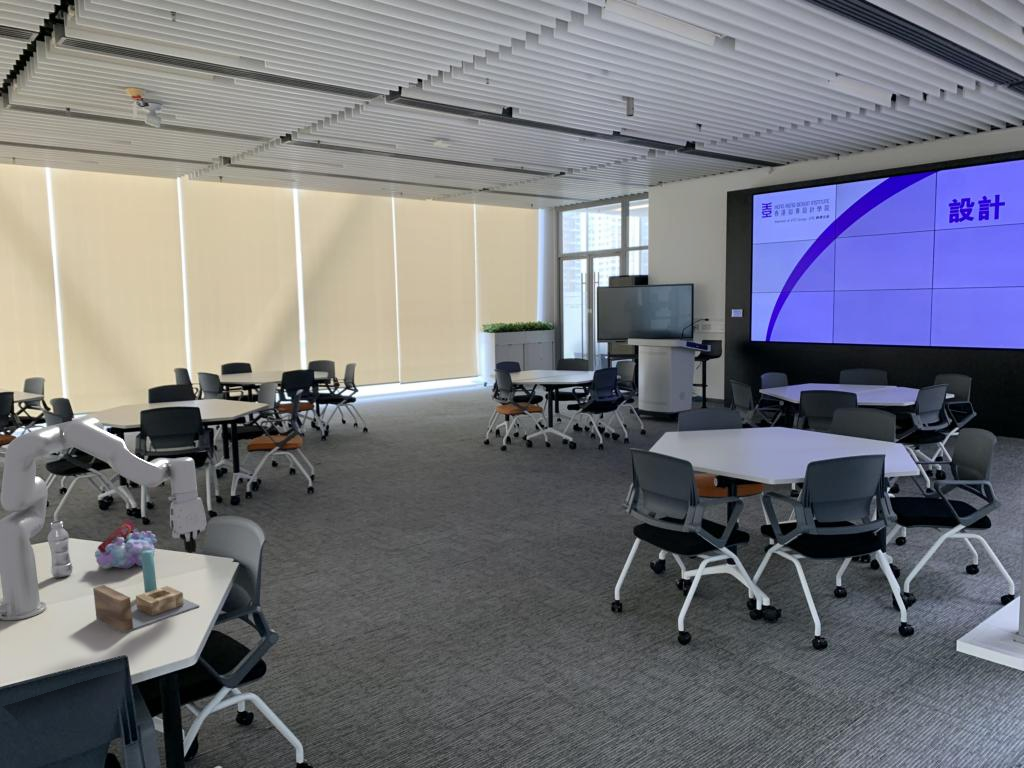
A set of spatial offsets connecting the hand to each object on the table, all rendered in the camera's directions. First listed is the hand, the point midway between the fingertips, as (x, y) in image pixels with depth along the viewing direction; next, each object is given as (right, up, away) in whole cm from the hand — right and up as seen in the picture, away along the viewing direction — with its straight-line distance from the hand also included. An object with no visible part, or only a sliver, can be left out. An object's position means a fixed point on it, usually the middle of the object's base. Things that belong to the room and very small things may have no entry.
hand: (190, 551), depth 246 cm
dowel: (-17, -15, +8) cm, 24 cm away
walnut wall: (-16, -18, -18) cm, 30 cm away
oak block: (-7, -17, -7) cm, 19 cm away
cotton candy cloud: (-39, -13, +37) cm, 56 cm away
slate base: (-9, -17, -10) cm, 22 cm away
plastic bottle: (-58, -15, +27) cm, 66 cm away
